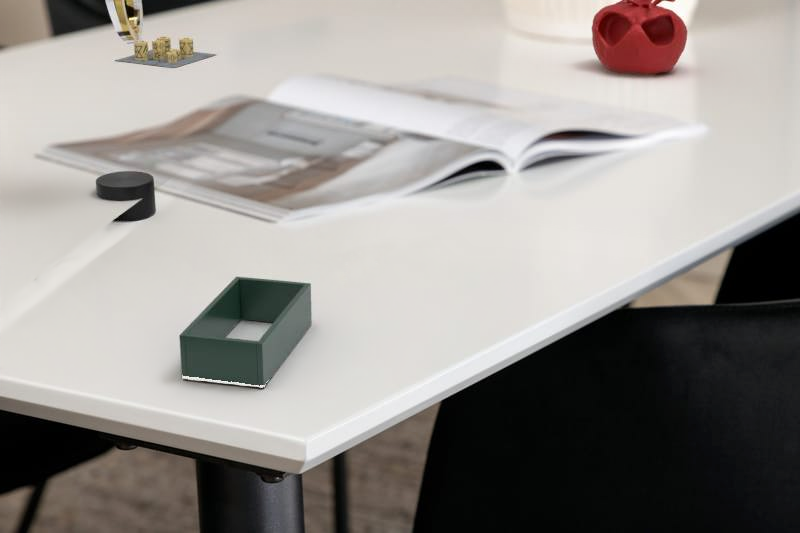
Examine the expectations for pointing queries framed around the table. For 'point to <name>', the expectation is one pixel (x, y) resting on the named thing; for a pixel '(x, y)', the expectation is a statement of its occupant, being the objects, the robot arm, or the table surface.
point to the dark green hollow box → (246, 358)
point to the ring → (125, 28)
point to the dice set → (165, 53)
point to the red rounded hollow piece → (638, 37)
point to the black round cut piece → (129, 192)
